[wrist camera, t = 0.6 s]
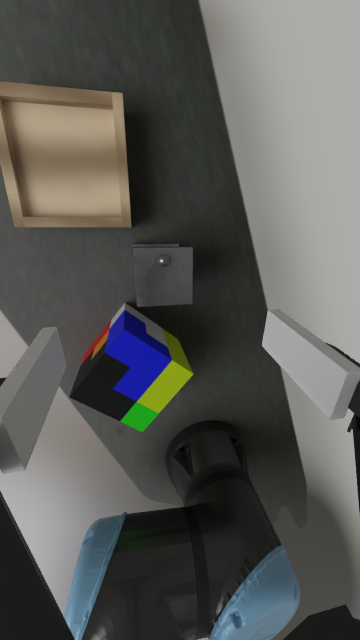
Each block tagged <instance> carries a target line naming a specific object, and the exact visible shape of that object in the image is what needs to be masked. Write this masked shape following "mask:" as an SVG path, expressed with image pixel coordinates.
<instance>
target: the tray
mask: <svg viewBox="0 0 360 640" xmlns="http://www.w3.org/2000/svg"><path fill="white" fill-rule="evenodd" d="M0 164H1V168H2V173H3V177H4V181H5V186H6V190H7V195H8V199H9V204H10V208H11V213H12V217H13V221H14V226H15V227H28V228H131V212H130V197H129V182H128V168H127V153H126V138H125V124H124V109H123V94H122V93H116V92H105V91H95V90H84V89H74V88H64V87H53V86H43V85H33V84H22V83H12V82H2V81H0Z"/></svg>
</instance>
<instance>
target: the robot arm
mask: <svg viewBox="0 0 360 640" xmlns="http://www.w3.org/2000/svg"><path fill="white" fill-rule="evenodd" d="M262 346H263V347H264V349H265V350H266V351H267V352H268V353H269V354H270V355H271V356H272V357H273V358H274V359H275V361H276V362H277V363H278V364H279V365H280V366H281V367H282V368H283V369H284V370H285V372H287V374H288V375H289V376H290V377H291V378H292V379H293V380H294V381H295V382H296V383H297V385H298V386H299V387H300V388H301V389H302V390H303V391H304V392H305V393H306V394H307V396H309V398H310V399H311V400H312V401H313V402H314V403H315V404H316V405H317V406H318V408H319V409H320V410H321V411H322V412H323V413H324V414H325V415H326V416H327V417H328V419H330V420H333V419H339V418H344V416H345V415H346V412H347V410H348V408H349V409H350V410H351V411H353V412H354V416H353V418H352V421H351V423H350V425H349V427H348V430H347V431H348V432H350V431H351V429H353V437H354V449H355V461H356V473H357V486H358V498H359V511H360V364H359V363H358V362H356V361H355V360H354V359H352V358H350V357H349V356H348V355H346V354H344V352H342V351H341V350H339V349H338V348H336V347H334V346H332V345H330V344H328V343H325V342H323V341H322V340H320V339H319V338H318V337H316V336H315V335H313V334H312V333H311V332H309V331H308V330H307V329H305V328H304V327H302V326H301V325H300V324H298V323H297V322H295V321H294V320H293V319H291V318H289V317H288V316H287V315H286V314H284V313H283V312H281V311H280V310H279V309H277V310H268V313H267V319H266V325H265V330H264V336H263V342H262ZM66 367H67V365H66V361H65V357H64V353H63V349H62V345H61V342H60V338H59V334H58V330H57V327H49V328H42V329H41V331H40V332H39V334H38V335H37V336H36V338H35V339H34V341H33V342H32V343H31V345H30V346H29V347H28V349H27V350H26V352H25V353H24V354H23V356H22V357H21V359H20V360H19V361H18V363H17V364H16V366H15V367H14V368H13V370H12V371H11V373H10V374H9V375H8V377H7V378H0V469H1V471H2V473H3V474H6V473H11V472H18V471H23V470H25V469H26V467H27V464H28V462H29V459H30V456H31V454H32V451H33V449H34V447H35V444H36V441H37V439H38V437H39V434H40V432H41V429H42V427H43V424H44V422H45V419H46V416H47V414H48V411H49V409H50V407H51V404H52V401H53V399H54V397H55V394H56V391H57V389H58V387H59V384H60V382H61V379H62V377H63V374H64V372H65V369H66ZM166 465H167V471H168V475H169V477H170V479H171V481H172V483H173V485H174V487H175V488H176V490H177V492H178V494H179V496H180V498H181V500H182V501H183V504H184V507H180V508H172V509H165V510H164V509H163V510H155V511H147V512H139V513H132V514H127V512H124V513H123V514H122V515H117V516H112V517H107V518H101V519H99V520H97V521H95V522H94V523H93V524H92V525H91V526H90V527H89V529H88V531H87V533H86V535H85V537H84V540H83V543H82V546H81V549H80V553H79V557H78V560H77V564H76V567H75V572H74V576H73V580H72V584H71V588H70V593H69V597H68V601H67V606H66V611H65V616H64V617H63V615H62V613H61V611H60V609H59V607H58V605H57V603H56V601H55V599H54V597H53V595H52V593H51V591H50V589H49V587H48V585H47V583H46V581H45V579H44V577H43V575H42V573H41V571H40V569H39V567H38V565H37V563H36V561H35V559H34V557H33V555H32V553H31V551H30V549H29V547H28V545H27V543H26V541H25V539H24V537H23V535H22V533H21V531H20V529H19V527H18V525H17V523H16V521H15V520H14V517H13V515H12V513H11V511H10V509H9V507H8V505H7V503H6V501H5V499H4V497H3V495H2V493H1V492H0V640H197V639H201V638H205V637H208V638H209V640H271V639H272V638H273V637H274V636H275V635H276V634H278V633H279V631H281V630H282V629H283V628H284V627H285V626H286V624H287V623H288V622H289V621H290V620H291V618H292V617H293V615H294V614H295V612H296V610H297V608H298V605H299V600H300V588H299V584H298V580H297V578H296V576H295V573H294V571H293V568H292V566H291V563H290V561H289V559H288V556H287V554H286V550H285V547H284V546H282V544H281V542H280V540H279V538H278V536H277V534H276V531H275V529H274V528H273V525H272V523H271V521H270V519H269V517H268V515H267V513H266V511H265V509H264V507H263V505H262V503H261V501H260V499H259V497H258V495H257V493H256V491H255V489H254V487H253V485H252V483H251V481H250V478H249V475H248V468H247V462H246V455H245V449H244V445H243V443H242V441H241V439H240V437H239V435H238V433H237V432H236V430H235V429H234V428H232V427H231V426H229V425H228V424H225V423H222V422H216V421H208V422H202V423H198V424H195V425H193V426H190V427H188V428H186V429H185V430H183V431H182V432H181V433H179V434H178V435H177V436H176V437H175V438H174V439H173V440H172V442H171V443H170V445H169V447H168V449H167V452H166ZM283 640H360V620H358V619H355V618H353V617H352V615H351V613H350V612H349V610H348V608H347V606H346V605H342V606H339V607H336V608H333V609H330V610H326V611H323V612H320V613H316V614H313V615H310V616H308V617H307V618H306V619H305V620H304V621H303V622H301V623H300V624H299V626H297V627H296V628H295V629H294V630H293V631H292V632H291V633H290V634H289V635H288V636H287V637H286V638H285V639H283Z"/></svg>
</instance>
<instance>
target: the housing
mask: <svg viewBox="0 0 360 640" xmlns="http://www.w3.org/2000/svg"><path fill="white" fill-rule="evenodd" d="M133 259H134V273H135V288H136V298H137V307H148V306H165V305H182V304H192V285H193V247H190V246H184V247H179V244H178V243H155V244H133Z"/></svg>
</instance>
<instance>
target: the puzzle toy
mask: <svg viewBox="0 0 360 640" xmlns="http://www.w3.org/2000/svg"><path fill="white" fill-rule="evenodd" d="M192 375H193V372H192V369H191V367H190V365H189V363H188V360H187V358H186V356H185V354H184V351H183V349H182V347H181V345H180V342H179V340H178V339H177V338H175V337H174V336H173V335H171V334H170V333H168V332H167V331H165V330H164V329H162V328H161V327H160V326H158V325H157V324H155V323H154V322H152V321H151V320H149V319H148V318H147V317H145V316H144V315H142V314H141V313H139V312H138V311H137V310H135V309H134V308H132V307H131V306H129V305H128V304H126V303H124V305H123V306H122V307H121V308H120V310H119V311H118V312H117V314H116V315H115V316H114V318H113V319H112V320H111V321H110V323H109V324H108V325H107V327H106V328H105V329H104V330H103V332H102V333H101V334H100V336H99V337H98V338H97V340H96V341H95V342H94V343H93V345H92V346H91V347H90V349H89V350H88V351H87V352H86V354H85V356H84V358H83V361H82V364H81V366H80V369H79V372H78V375H77V377H76V380H75V383H74V386H73V388H72V391H71V394H70V396H69V397H70V398H72V399H74V400H76V401H78V402H80V403H83V404H85V405H87V406H89V407H91V408H93V409H95V410H97V411H99V412H102V413H104V414H106V415H108V416H110V417H112V418H114V419H116V420H118V421H120V422H123V423H125V424H127V425H129V426H131V427H133V428H135V429H137V430H139V431H141V432H143V431H144V430H145V429H146V427H147V426H148V425H149V424H150V423H151V422H152V421H153V419H154V418H155V417H156V416H157V415H158V414H159V413H160V412H161V410H162V409H163V408H164V407H165V406H166V405H167V404H168V402H169V401H170V400H171V399H172V398H173V397H174V396H175V394H176V393H177V392H178V391H179V390H180V389H181V388H182V386H183V385H184V384H185V383H186V382H187V381H188V380H189V379H190V377H191V376H192Z"/></svg>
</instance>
